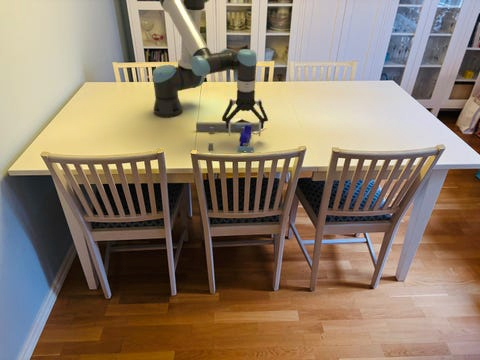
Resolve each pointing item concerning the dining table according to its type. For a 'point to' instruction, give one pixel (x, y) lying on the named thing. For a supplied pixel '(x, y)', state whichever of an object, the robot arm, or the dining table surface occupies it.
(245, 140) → the blue angled bracket
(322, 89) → the dining table surface
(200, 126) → the gray assembly fixture
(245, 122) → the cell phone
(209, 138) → the dining table surface
